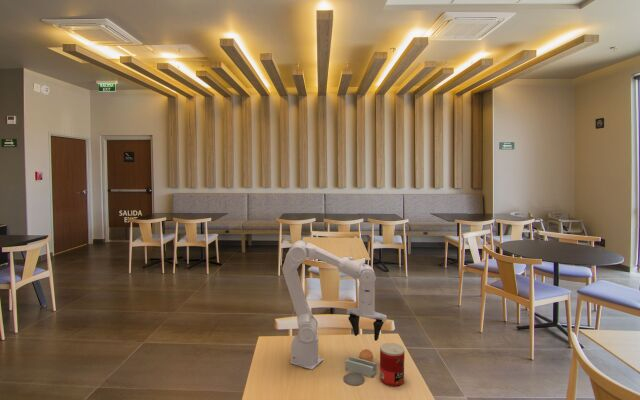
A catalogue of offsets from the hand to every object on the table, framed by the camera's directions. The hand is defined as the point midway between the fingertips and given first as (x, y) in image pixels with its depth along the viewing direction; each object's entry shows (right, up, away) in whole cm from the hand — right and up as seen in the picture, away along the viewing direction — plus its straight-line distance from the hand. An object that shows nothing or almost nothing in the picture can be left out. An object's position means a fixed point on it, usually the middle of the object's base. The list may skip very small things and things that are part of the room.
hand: (366, 337), depth 135 cm
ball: (0, -10, +1) cm, 10 cm away
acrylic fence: (-2, -10, -4) cm, 11 cm away
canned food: (+7, -11, -10) cm, 16 cm away
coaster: (-5, -11, -9) cm, 15 cm away
